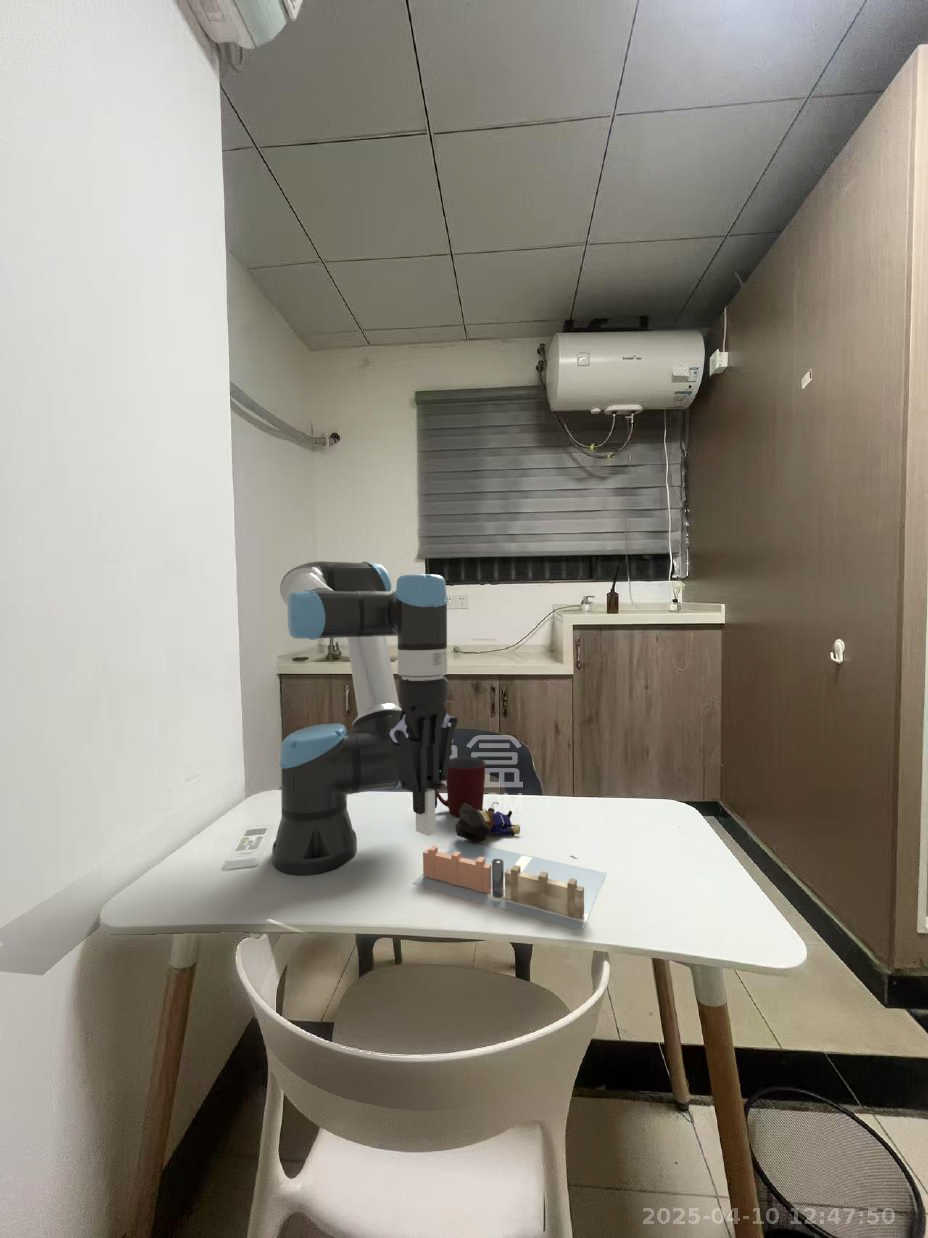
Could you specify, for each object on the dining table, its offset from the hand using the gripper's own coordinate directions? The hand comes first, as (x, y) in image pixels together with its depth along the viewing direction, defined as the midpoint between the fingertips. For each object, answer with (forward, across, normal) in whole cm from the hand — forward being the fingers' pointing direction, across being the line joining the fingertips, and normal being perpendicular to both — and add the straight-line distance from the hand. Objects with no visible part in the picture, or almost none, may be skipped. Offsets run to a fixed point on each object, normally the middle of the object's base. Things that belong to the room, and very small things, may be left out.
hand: (425, 831), depth 76 cm
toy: (+11, +25, +8) cm, 29 cm away
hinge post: (+12, +9, -6) cm, 16 cm away
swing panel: (+11, +7, +1) cm, 13 cm away
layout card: (+12, +15, -5) cm, 19 cm away
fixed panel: (+11, +11, -14) cm, 21 cm away
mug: (+11, +30, +21) cm, 38 cm away
